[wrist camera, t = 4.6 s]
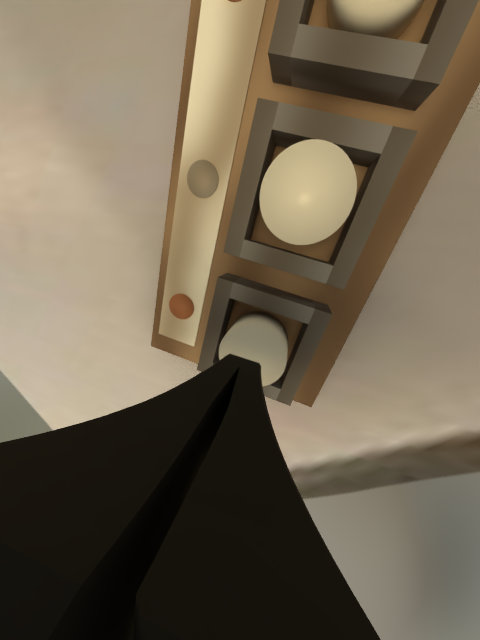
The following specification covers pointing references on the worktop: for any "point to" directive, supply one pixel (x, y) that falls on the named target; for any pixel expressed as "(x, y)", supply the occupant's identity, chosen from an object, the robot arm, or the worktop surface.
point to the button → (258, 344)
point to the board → (277, 135)
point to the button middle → (308, 192)
